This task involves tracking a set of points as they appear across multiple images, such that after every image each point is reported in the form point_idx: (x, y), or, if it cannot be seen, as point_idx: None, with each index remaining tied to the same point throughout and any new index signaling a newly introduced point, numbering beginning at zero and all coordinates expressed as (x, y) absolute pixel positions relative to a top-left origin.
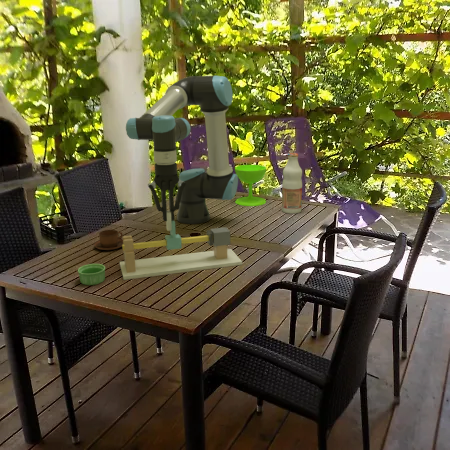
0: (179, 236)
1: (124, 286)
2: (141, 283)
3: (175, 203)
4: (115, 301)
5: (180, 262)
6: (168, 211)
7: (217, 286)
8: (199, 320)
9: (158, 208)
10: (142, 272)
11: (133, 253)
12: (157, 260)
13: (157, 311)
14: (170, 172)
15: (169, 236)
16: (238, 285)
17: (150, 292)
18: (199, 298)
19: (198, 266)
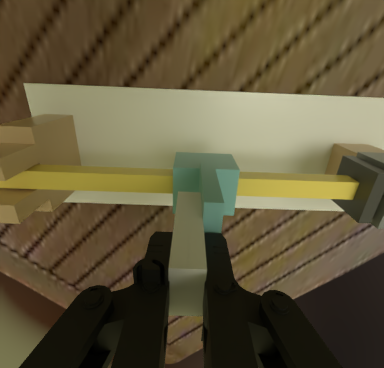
0: (231, 200)
1: (64, 229)
2: (102, 227)
3: (280, 351)
4: (53, 281)
5: None
6: (189, 291)
7: (253, 283)
8: (183, 355)
9: (86, 357)
10: (102, 193)
11: (51, 209)
12: (153, 119)
13: None
14: None
15: (190, 186)
16: (291, 290)
17: (120, 269)
18: None
19: (254, 204)
